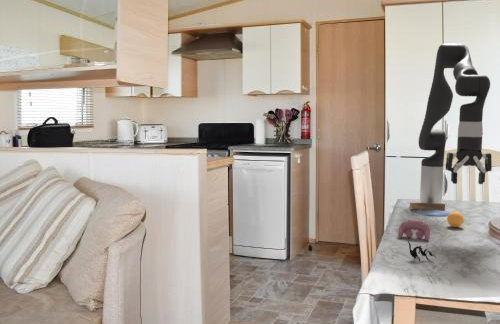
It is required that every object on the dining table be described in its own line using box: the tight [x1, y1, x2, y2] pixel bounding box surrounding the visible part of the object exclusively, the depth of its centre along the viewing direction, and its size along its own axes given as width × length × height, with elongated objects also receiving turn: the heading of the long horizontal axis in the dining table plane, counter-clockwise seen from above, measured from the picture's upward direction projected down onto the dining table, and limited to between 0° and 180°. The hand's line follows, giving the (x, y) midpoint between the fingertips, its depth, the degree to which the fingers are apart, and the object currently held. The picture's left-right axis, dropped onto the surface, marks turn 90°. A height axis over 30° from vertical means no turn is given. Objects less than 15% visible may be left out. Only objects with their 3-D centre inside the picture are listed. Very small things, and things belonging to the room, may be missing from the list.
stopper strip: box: [409, 202, 446, 211], centre depth 211 cm, size 2×14×2 cm, turn 87°
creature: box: [406, 240, 437, 264], centre depth 138 cm, size 8×5×8 cm
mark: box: [415, 209, 451, 217], centre depth 203 cm, size 13×13×1 cm
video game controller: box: [397, 219, 431, 242], centre depth 162 cm, size 10×5×7 cm, turn 65°
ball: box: [446, 211, 465, 228], centre depth 178 cm, size 6×6×6 cm
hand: (467, 183), depth 168 cm, fingers open, 8 cm apart
